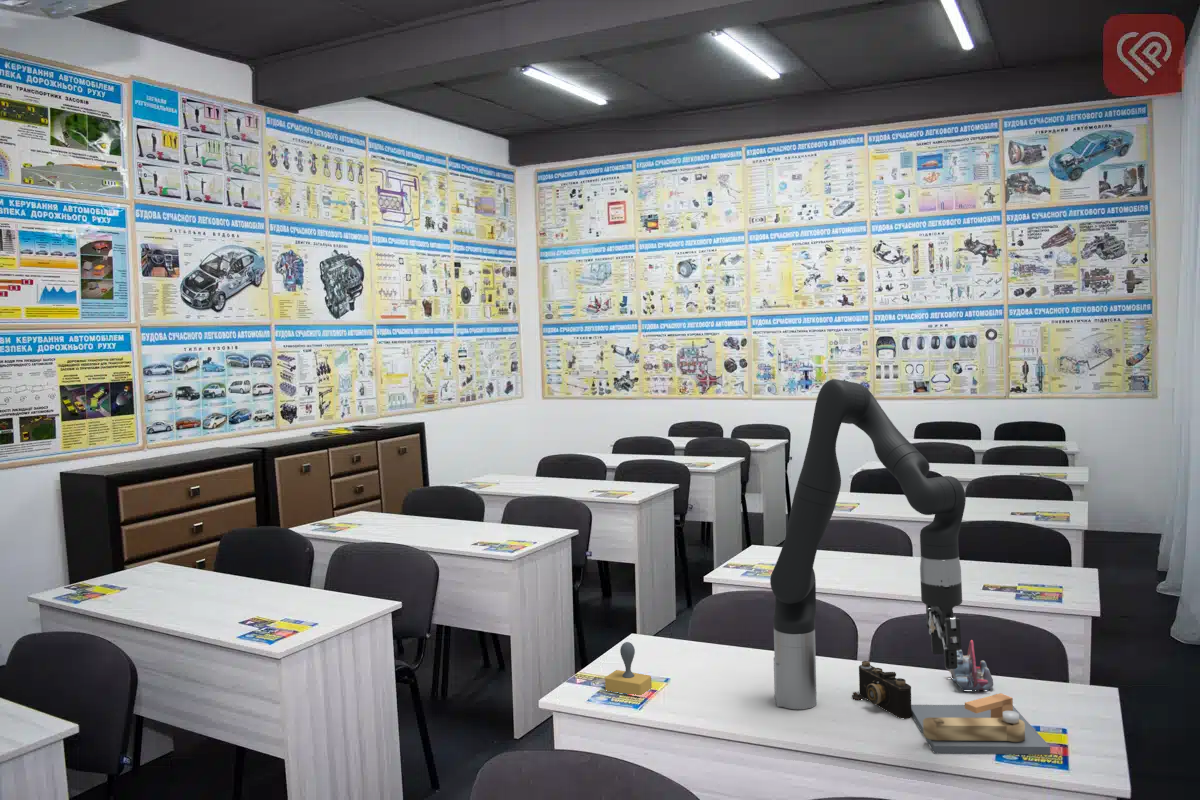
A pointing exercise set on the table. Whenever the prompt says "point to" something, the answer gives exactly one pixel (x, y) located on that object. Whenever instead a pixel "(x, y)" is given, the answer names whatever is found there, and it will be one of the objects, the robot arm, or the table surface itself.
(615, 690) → the rubber stamp
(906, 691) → the camera
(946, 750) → the base plate
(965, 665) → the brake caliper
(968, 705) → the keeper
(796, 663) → the robot arm
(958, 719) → the latch lever
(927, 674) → the table surface
